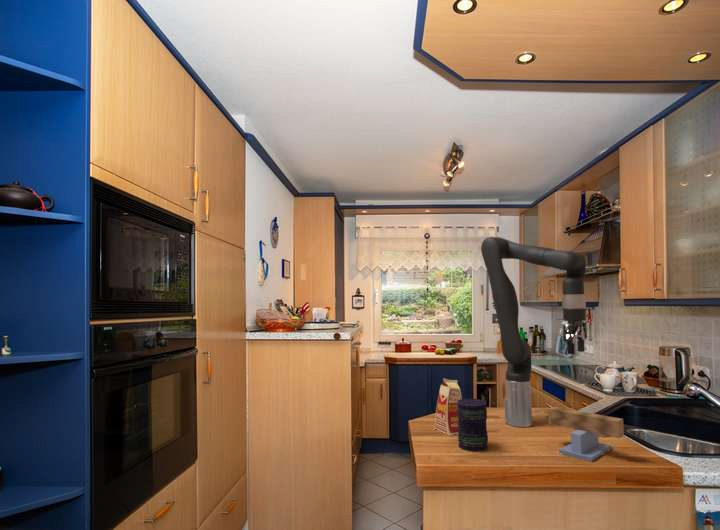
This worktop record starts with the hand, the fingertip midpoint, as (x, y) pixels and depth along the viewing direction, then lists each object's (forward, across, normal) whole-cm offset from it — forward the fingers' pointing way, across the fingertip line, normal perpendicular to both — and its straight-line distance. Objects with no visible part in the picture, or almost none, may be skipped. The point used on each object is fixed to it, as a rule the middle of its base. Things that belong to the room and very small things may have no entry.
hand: (576, 352), depth 159 cm
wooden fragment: (+31, -16, -4) cm, 35 cm away
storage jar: (+30, +33, -22) cm, 50 cm away
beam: (+23, +11, +6) cm, 26 cm away
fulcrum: (+30, +11, +6) cm, 33 cm away
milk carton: (+30, +24, -38) cm, 54 cm away
